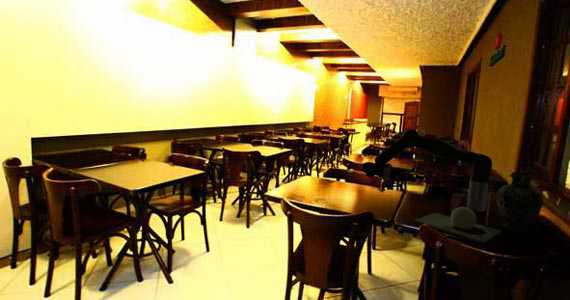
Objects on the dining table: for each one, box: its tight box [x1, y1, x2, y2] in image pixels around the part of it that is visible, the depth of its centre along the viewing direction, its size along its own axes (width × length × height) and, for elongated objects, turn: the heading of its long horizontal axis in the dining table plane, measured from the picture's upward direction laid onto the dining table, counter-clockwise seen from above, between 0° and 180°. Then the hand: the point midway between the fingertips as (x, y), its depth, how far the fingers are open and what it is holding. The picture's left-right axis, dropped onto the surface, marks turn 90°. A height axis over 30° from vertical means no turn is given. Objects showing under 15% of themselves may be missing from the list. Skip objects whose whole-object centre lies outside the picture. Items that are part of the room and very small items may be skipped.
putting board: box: [414, 191, 503, 243], centre depth 156 cm, size 32×22×19 cm
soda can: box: [450, 192, 467, 214], centre depth 176 cm, size 7×7×12 cm
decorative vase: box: [495, 171, 544, 232], centre depth 159 cm, size 21×19×28 cm
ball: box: [450, 206, 477, 231], centre depth 155 cm, size 11×11×11 cm
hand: (419, 179), depth 171 cm, fingers open, 8 cm apart
